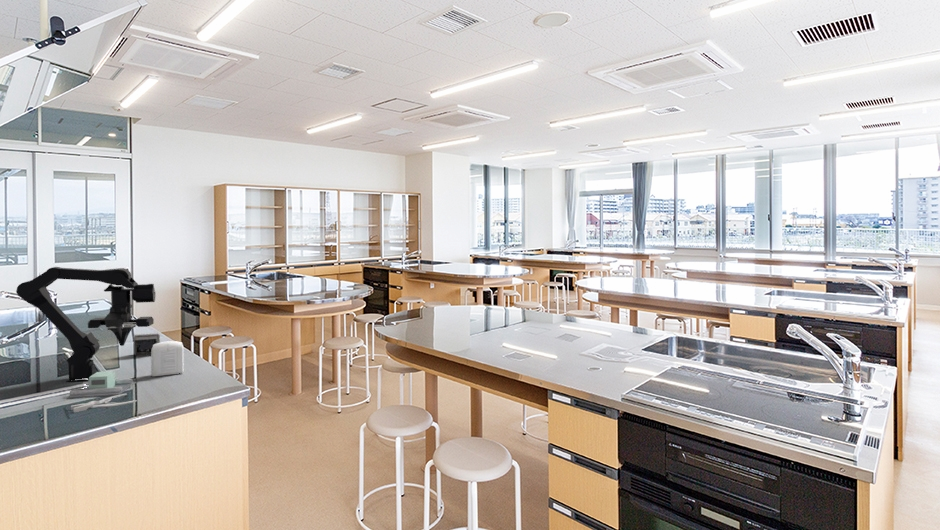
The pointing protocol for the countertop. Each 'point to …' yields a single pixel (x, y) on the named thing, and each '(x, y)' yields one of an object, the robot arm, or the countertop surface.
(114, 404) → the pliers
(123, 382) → the mounting board
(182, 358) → the photo printer
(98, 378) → the green module
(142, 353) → the electrical switch
